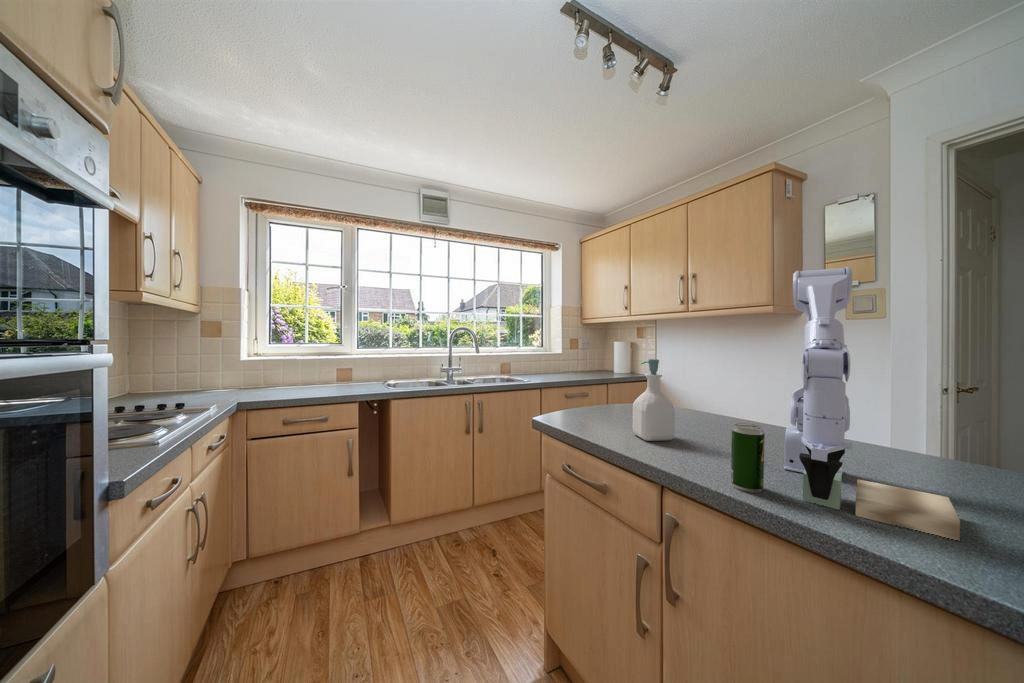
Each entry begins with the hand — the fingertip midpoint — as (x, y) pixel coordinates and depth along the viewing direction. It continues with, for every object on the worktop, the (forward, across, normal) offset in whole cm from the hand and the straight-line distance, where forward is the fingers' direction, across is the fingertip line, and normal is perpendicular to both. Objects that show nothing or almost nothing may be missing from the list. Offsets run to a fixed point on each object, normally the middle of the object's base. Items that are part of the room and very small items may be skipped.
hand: (822, 491), depth 67 cm
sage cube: (+2, 0, 0) cm, 2 cm away
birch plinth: (+2, +2, -10) cm, 10 cm away
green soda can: (+2, -3, +11) cm, 12 cm away
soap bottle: (+2, +19, +39) cm, 43 cm away
